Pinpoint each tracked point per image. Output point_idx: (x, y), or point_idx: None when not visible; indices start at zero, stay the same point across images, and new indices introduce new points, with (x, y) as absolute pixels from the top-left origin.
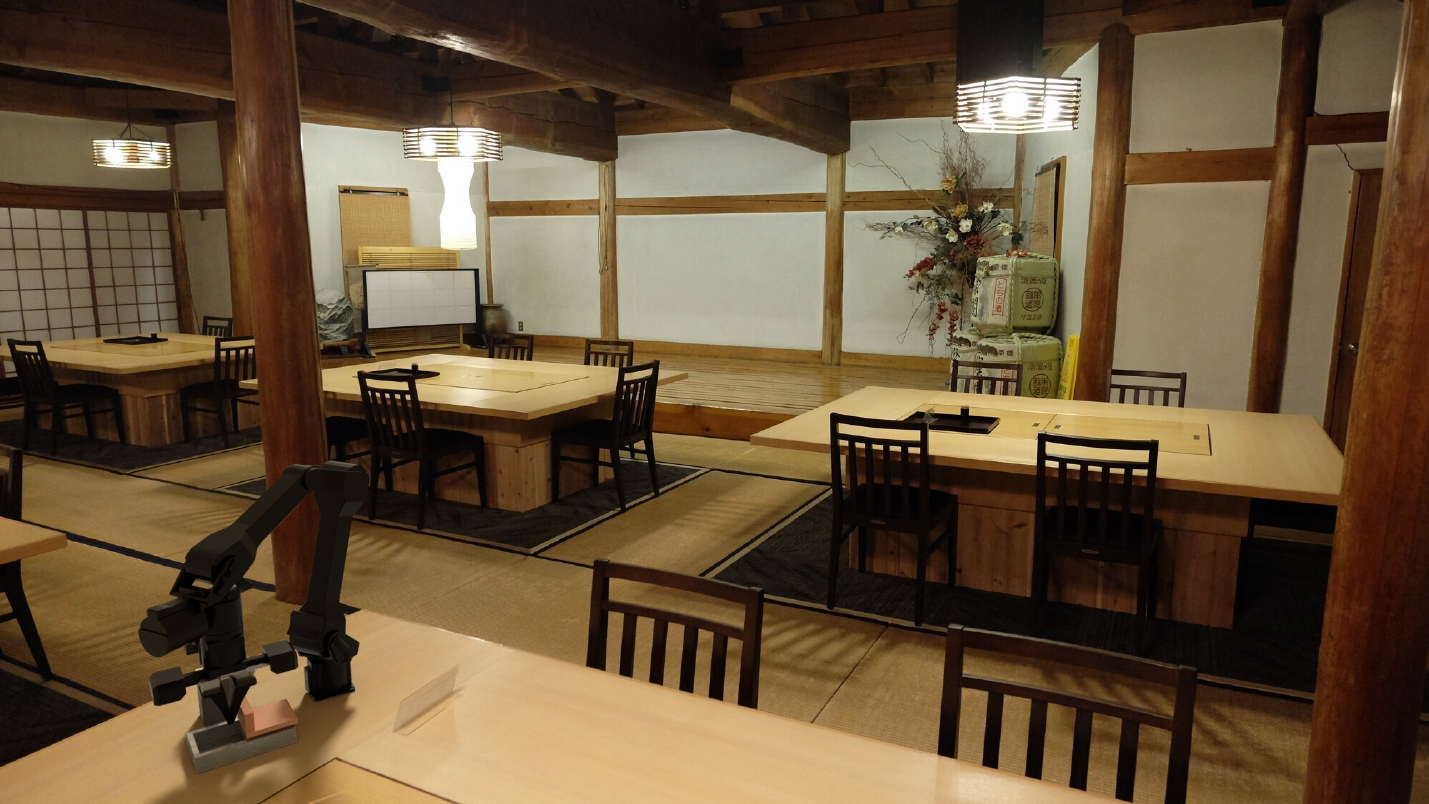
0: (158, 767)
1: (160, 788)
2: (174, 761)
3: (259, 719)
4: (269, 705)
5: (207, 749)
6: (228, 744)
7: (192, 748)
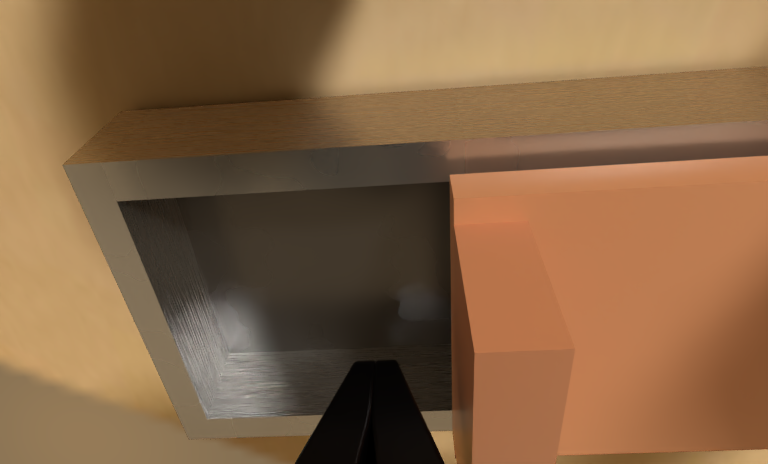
0: (4, 216)
1: (78, 371)
2: (78, 201)
3: (573, 362)
4: (730, 216)
5: (246, 222)
6: (362, 228)
7: (157, 359)
